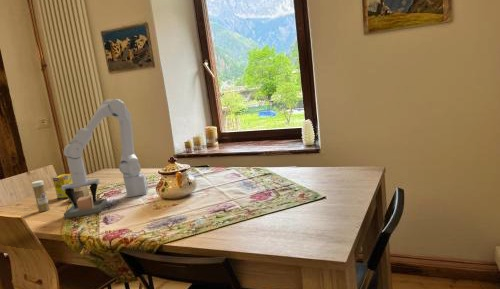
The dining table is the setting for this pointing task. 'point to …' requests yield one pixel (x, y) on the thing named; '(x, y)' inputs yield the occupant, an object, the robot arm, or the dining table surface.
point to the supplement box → (60, 181)
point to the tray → (97, 208)
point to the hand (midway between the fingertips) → (85, 203)
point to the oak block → (80, 192)
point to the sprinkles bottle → (40, 195)
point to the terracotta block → (85, 203)
